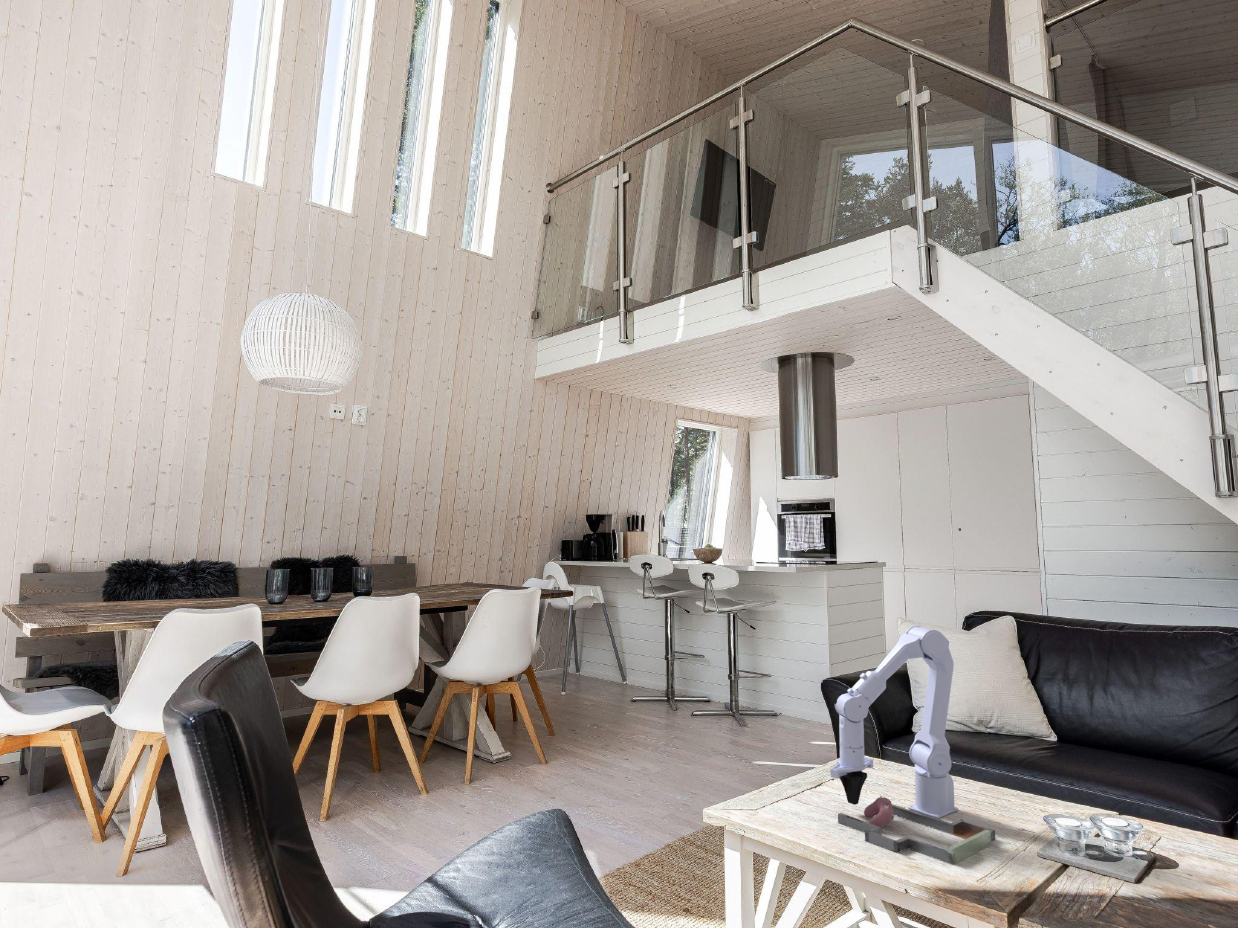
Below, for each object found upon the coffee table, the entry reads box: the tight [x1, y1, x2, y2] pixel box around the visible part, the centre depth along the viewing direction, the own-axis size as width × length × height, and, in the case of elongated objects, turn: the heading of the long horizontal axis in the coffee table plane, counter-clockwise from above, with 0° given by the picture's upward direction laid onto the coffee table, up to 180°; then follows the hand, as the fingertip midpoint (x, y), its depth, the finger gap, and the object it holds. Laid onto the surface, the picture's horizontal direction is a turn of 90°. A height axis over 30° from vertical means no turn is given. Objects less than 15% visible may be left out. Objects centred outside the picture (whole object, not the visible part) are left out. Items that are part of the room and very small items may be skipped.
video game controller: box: [863, 795, 895, 828], centre depth 178 cm, size 10×5×7 cm, turn 168°
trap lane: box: [837, 803, 996, 865], centre depth 172 cm, size 24×28×3 cm
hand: (852, 802), depth 184 cm, fingers closed
